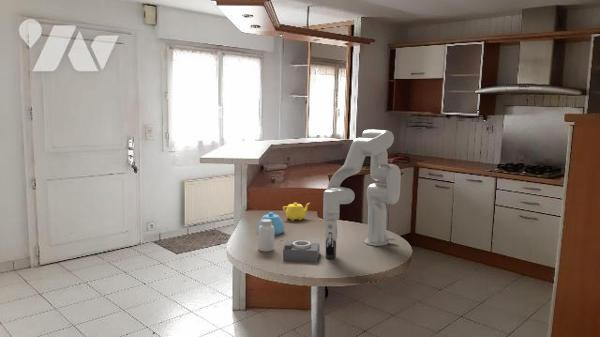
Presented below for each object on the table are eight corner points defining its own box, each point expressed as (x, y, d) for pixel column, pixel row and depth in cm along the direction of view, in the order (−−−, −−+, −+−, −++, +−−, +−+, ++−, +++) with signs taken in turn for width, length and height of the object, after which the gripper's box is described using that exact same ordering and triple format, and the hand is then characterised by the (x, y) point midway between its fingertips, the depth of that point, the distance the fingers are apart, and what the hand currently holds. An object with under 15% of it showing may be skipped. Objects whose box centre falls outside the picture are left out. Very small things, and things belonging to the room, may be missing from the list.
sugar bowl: (268, 237, 254) (268, 217, 252) (252, 232, 265) (252, 212, 263) (289, 232, 264) (289, 212, 262) (273, 227, 275) (273, 208, 273)
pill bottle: (268, 252, 228) (268, 223, 226) (255, 250, 232) (254, 220, 230) (277, 248, 235) (277, 219, 232) (264, 246, 239) (264, 217, 237)
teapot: (307, 216, 302) (307, 200, 301) (312, 220, 292) (312, 203, 290) (280, 218, 298) (280, 201, 296) (284, 222, 287) (284, 205, 286)
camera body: (319, 253, 228) (319, 240, 227) (316, 261, 216) (316, 247, 215) (287, 251, 230) (287, 238, 229) (282, 259, 218) (282, 245, 217)
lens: (336, 256, 223) (336, 237, 222) (335, 259, 218) (335, 240, 217) (325, 255, 224) (326, 237, 222) (325, 259, 219) (325, 240, 217)
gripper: (338, 220, 209) (337, 259, 211) (340, 211, 226) (339, 247, 228) (321, 219, 210) (321, 258, 212) (324, 211, 227) (324, 246, 229)
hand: (330, 252), depth 220 cm, fingers open, 6 cm apart
